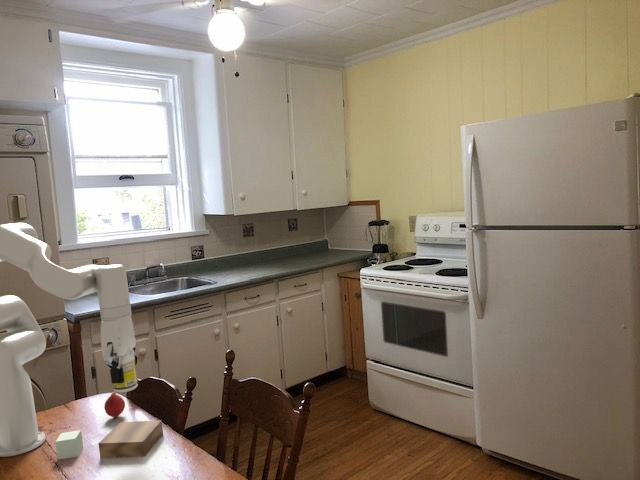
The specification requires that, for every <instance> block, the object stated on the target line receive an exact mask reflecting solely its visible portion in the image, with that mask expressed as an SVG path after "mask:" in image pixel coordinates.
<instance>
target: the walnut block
mask: <svg viewBox="0 0 640 480" xmlns="http://www.w3.org/2000/svg"><path fill="white" fill-rule="evenodd" d="M162 422H163V421H162V419H161V420H144V421H141V420H139V421H138V420H137V421H120V422H119V423H118V424H117V425H116V426H115V427H114V428H113V429H112V430H111V431H109V433H108V434H106V436H104V437H103V438H102V439H101V440H100V441H99V442H98V444H97V445H98V450H99V451H98V452H99V458H100V459H103V458H104V459H106V458H107V459H109V458H114V459H115V458H139V457H140V458H142V457H143V458H144V457H146V456H147V454H148V453H149V452H150V451H151V450H152V448H153V447H154V446H155V445H156V443H158V442H159V440H160V439H161V437H162V436H164V430H163V423H162Z"/></svg>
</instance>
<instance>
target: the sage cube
mask: <svg viewBox="0 0 640 480" xmlns="http://www.w3.org/2000/svg"><path fill="white" fill-rule="evenodd" d="M54 444H55V451H56V452H55V453H56V457H57V460H63V459H64V460H65V459H69V458H71V459H72V458H76V457H79V455H80V454H81V452H82V450H83V449H84V444H83V435H82V429H79V430H73V431H72V430H71V431H65V432H61V433H60V434H59V436H58V437H57V439H56V440H55V441H54Z"/></svg>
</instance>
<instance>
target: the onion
mask: <svg viewBox="0 0 640 480" xmlns="http://www.w3.org/2000/svg"><path fill="white" fill-rule="evenodd" d="M103 408H104V409H103V410H104V412H105V413H106V415H107V416H108V417H111V418H115V419H117V418H119V417H120V415H122V413H123V412H124V410H125V408H126V403H125V400H124V398H123V397H121V396H120V395H119V394H118V395H117V392H115V391H113V392H112V393H111V394H110V396H109V397H108V398H107V399H106V400H105V402H104V407H103Z"/></svg>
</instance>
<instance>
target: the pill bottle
mask: <svg viewBox="0 0 640 480" xmlns="http://www.w3.org/2000/svg"><path fill="white" fill-rule="evenodd" d="M130 352H131V350H130V347H129V348H128V349H127V351H126V354H125V355H123V356H122V357H121V367H123V375H124V382H123V383H115V384H113V383H112V386H113V392H115V393H128V392H131V391H133V390H135V389H136V388H137V387H138V386H139V381H138V373H137V366H136V365H137V364H136V357H135V358H134V356H133V355H132V354H130ZM113 356H117V354H113ZM113 361H115V362H116V363H117V359H113ZM135 364H136V365H135Z"/></svg>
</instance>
